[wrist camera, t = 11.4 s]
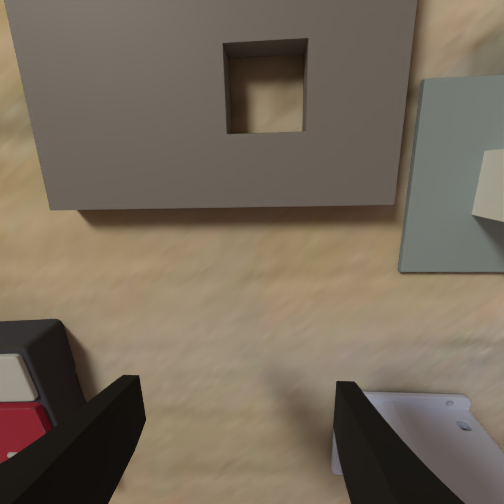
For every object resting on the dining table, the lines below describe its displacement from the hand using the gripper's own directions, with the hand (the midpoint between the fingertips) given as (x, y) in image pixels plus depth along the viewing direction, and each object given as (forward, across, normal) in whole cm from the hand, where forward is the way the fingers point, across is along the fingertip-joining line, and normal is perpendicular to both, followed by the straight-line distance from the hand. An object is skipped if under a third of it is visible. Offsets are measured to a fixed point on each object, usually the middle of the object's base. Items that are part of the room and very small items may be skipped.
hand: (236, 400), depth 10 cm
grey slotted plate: (+10, +2, -12) cm, 16 cm away
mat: (+10, -15, -7) cm, 19 cm away
